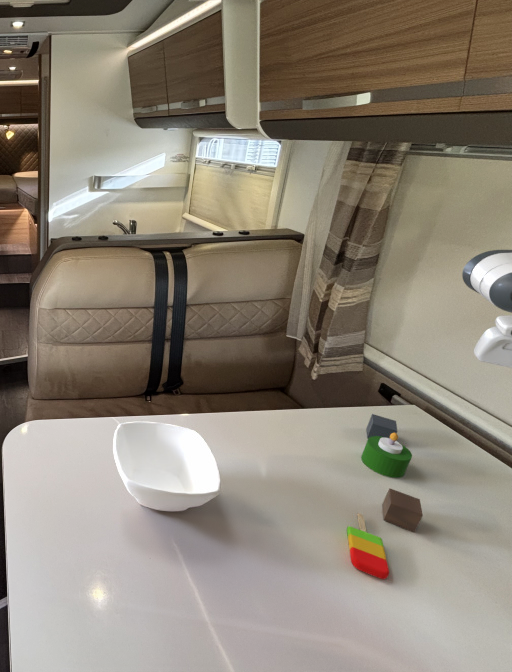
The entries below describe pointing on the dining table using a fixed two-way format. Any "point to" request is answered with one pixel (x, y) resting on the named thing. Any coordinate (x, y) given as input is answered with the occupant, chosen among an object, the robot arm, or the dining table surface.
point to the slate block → (381, 426)
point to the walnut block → (402, 510)
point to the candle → (386, 456)
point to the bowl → (165, 465)
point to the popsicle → (367, 551)
